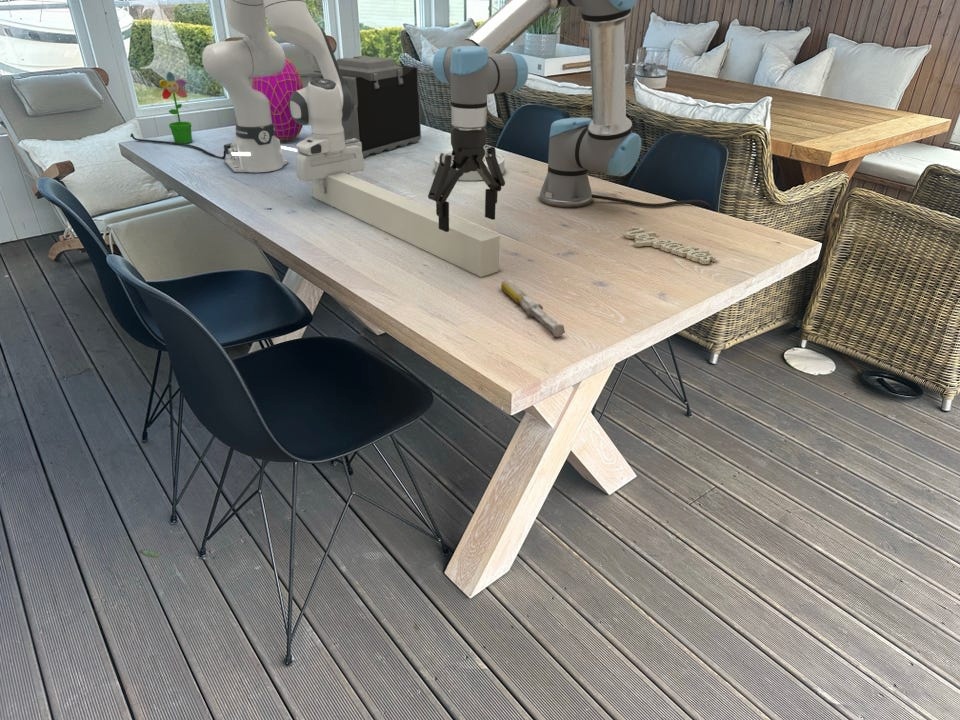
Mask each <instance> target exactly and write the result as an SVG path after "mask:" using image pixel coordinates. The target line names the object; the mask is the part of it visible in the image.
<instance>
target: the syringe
mask: <svg viewBox="0 0 960 720" xmlns="http://www.w3.org/2000/svg"><path fill="white" fill-rule="evenodd" d="M500 287H501V290H502V291H503V292H504V293H505V294H506V295H507V296H508V297H510V298H511V299H512V300H513V301H514V302H515V303H516V304H517V305H518V306H520V308H521V309H523V311H524V312H525V314H526V316H527V317H528V318H531V317H532V318H533V317H534V318H535V319H536V320H537V321H538V322H540V323H541V324H542V325H543V326H544V327H546V329H547V330H548V331H549V332H550V333H552V334H553V337H554V338H559V337H561V336H563V334H565V333H566V330H565V325H564V324H562V323H558V322H557V321H556V320H555V319H554V318H553V317H552V316H550V315H549V314H548V313H546V312H545V311H544V307H543V305H542V304H541V303H537V302H535V301H534V299H532V298H531V297H530V296H528V294H526V293H525V292H524V291H523V290H521V289H520V288H519V287H517V286H516V284H515V283H514V282H513V281H512V280H511V279H504V280H502V281H501V285H500Z"/></svg>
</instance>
